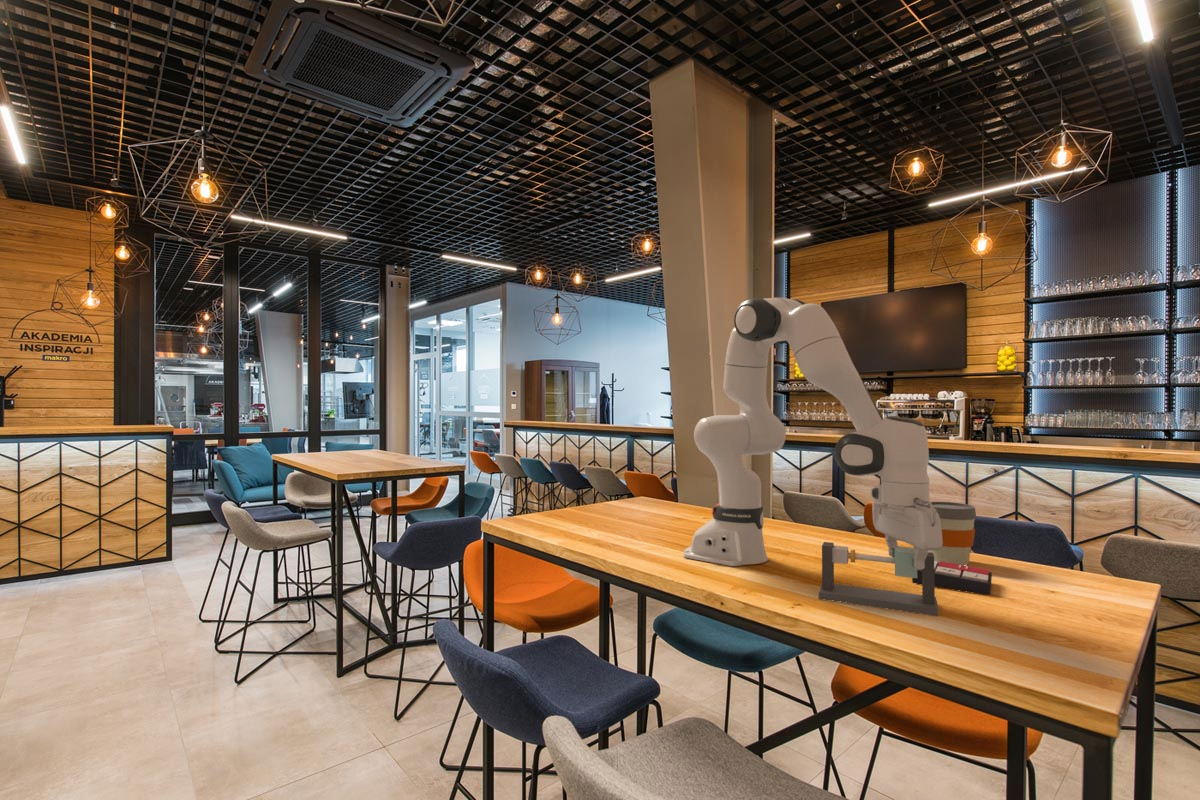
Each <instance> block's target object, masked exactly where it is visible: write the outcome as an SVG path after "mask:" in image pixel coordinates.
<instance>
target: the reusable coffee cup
mask: <svg viewBox="0 0 1200 800" xmlns="http://www.w3.org/2000/svg"><path fill="white" fill-rule="evenodd" d="M930 502H931V503H932V505H933V507H934V509H936V512H937V513H938V515H939V517H940V522H941V530H942V542H943V544H942V547H941V549H940V550H935V551H928V552H932V553H933V554H934V561H937V562H938V563H940V561H941V562H947V563H953V564H958V565H966V564H968V565H969V564H970V557H971V550H972V549H971V548H972V547H973V546H974V543H975V542H974V541H975V533H976V528H975V520H976V519H977V515H976V514H977V513H976V507H975V505H971V504H968V503H961V502H950V501H930Z"/></svg>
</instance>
